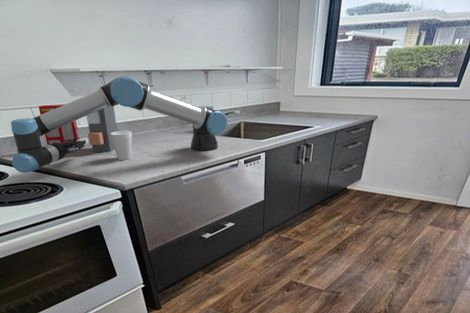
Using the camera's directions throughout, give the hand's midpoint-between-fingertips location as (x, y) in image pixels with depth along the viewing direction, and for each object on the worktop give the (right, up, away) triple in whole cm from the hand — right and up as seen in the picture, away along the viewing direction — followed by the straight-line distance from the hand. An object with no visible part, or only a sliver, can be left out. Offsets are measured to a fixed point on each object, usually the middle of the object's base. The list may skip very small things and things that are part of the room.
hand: (86, 140), depth 134 cm
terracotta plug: (+2, 0, +12) cm, 13 cm away
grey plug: (+1, +11, +11) cm, 15 cm away
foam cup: (+19, -9, -1) cm, 21 cm away
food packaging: (-21, -5, +16) cm, 27 cm away
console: (+2, -4, +17) cm, 18 cm away
